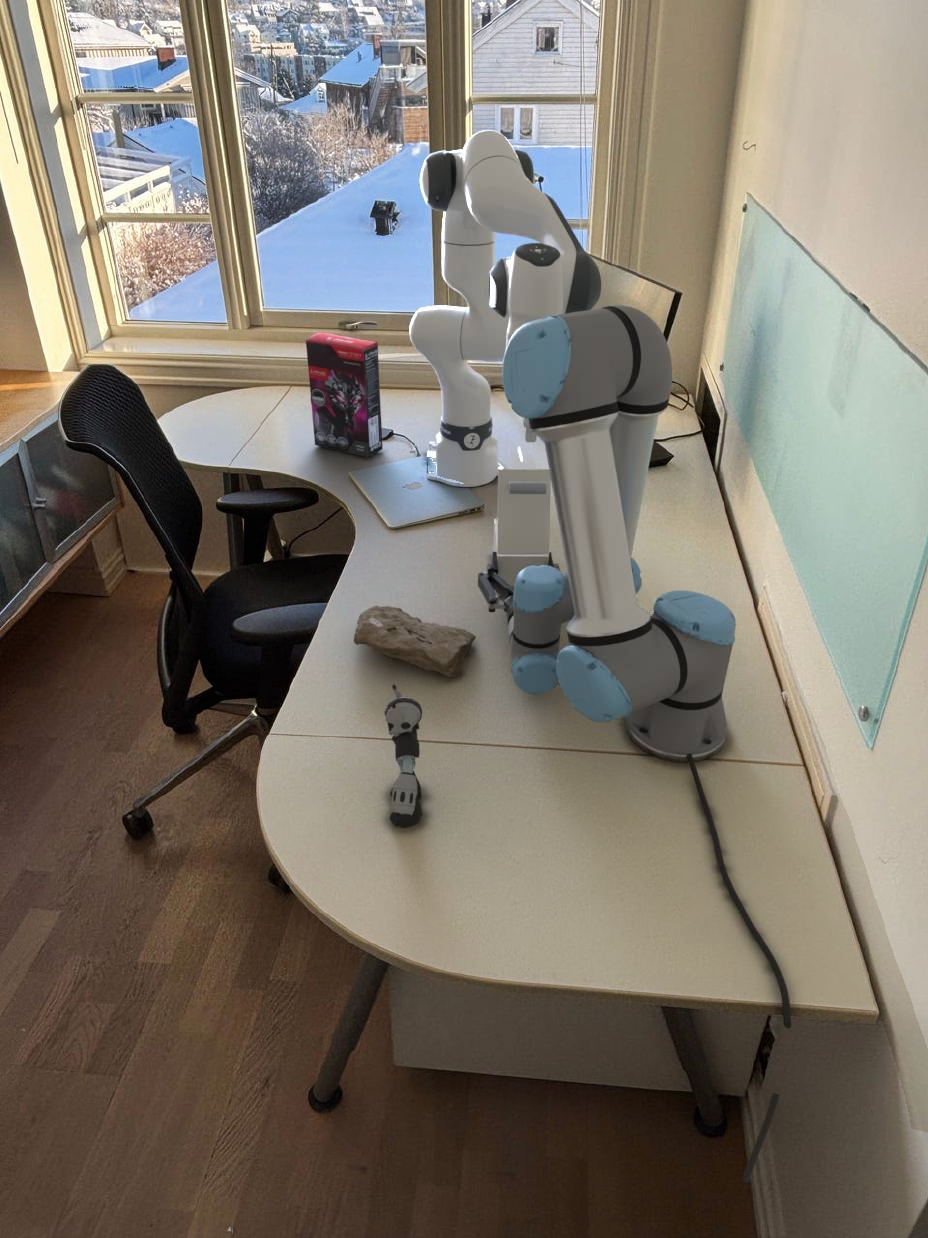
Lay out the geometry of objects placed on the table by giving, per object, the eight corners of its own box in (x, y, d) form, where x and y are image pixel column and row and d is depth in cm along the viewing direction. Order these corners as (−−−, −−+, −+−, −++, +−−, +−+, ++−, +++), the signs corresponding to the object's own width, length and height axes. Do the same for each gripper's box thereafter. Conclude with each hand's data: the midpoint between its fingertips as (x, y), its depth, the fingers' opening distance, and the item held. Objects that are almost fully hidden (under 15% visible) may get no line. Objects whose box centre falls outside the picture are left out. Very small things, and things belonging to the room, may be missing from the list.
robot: (425, 859, 121) (422, 744, 110) (387, 860, 121) (381, 745, 110) (423, 757, 137) (420, 648, 126) (390, 758, 137) (385, 649, 126)
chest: (493, 556, 187) (494, 518, 183) (539, 556, 188) (542, 518, 183) (495, 596, 175) (497, 556, 170) (546, 596, 175) (548, 556, 170)
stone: (330, 651, 154) (336, 619, 151) (363, 622, 167) (369, 592, 165) (447, 693, 150) (456, 661, 148) (471, 659, 164) (479, 629, 161)
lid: (498, 469, 168) (500, 469, 159) (550, 469, 168) (555, 469, 159) (497, 553, 170) (499, 558, 162) (548, 554, 171) (554, 558, 162)
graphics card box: (312, 446, 233) (302, 338, 217) (328, 436, 238) (320, 330, 223) (369, 459, 226) (363, 349, 211) (384, 449, 231) (380, 341, 216)
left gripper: (558, 374, 141) (553, 458, 149) (547, 333, 158) (542, 410, 166) (517, 374, 141) (514, 458, 149) (510, 333, 158) (507, 410, 166)
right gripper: (597, 605, 154) (581, 540, 172) (464, 605, 153) (463, 540, 172) (593, 642, 158) (578, 574, 176) (464, 642, 158) (462, 574, 176)
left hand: (529, 432), depth 157 cm, fingers open, 5 cm apart
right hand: (521, 557), depth 174 cm, fingers closed on chest, 9 cm apart
